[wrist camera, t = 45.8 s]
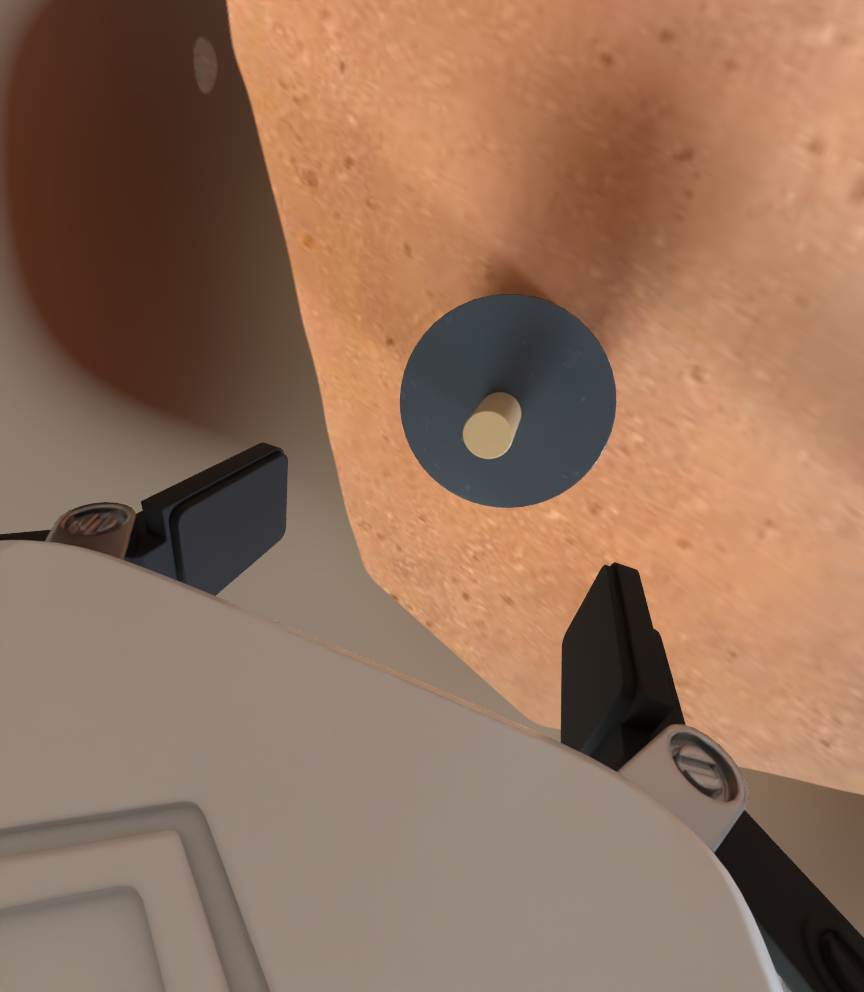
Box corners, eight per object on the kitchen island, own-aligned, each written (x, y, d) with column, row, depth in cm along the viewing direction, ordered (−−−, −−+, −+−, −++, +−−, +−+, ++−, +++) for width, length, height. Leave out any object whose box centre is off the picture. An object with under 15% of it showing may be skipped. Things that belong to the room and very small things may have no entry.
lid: (427, 269, 23) (390, 263, 18) (656, 326, 21) (683, 335, 16) (392, 467, 30) (357, 501, 25) (565, 524, 28) (565, 574, 23)
